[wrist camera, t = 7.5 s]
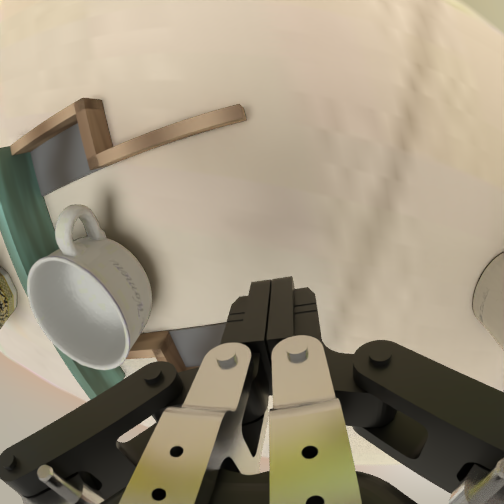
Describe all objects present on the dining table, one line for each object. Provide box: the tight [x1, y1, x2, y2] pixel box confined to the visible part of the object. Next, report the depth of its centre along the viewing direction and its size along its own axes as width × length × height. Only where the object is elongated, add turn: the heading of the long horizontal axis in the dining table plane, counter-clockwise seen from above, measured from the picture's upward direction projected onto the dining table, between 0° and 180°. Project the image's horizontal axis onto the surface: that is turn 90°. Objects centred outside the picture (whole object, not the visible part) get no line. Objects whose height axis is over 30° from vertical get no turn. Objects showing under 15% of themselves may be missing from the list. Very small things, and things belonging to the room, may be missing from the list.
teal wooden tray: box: [0, 98, 247, 399], centre depth 23 cm, size 23×29×6 cm
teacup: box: [27, 205, 152, 370], centre depth 23 cm, size 14×11×8 cm
